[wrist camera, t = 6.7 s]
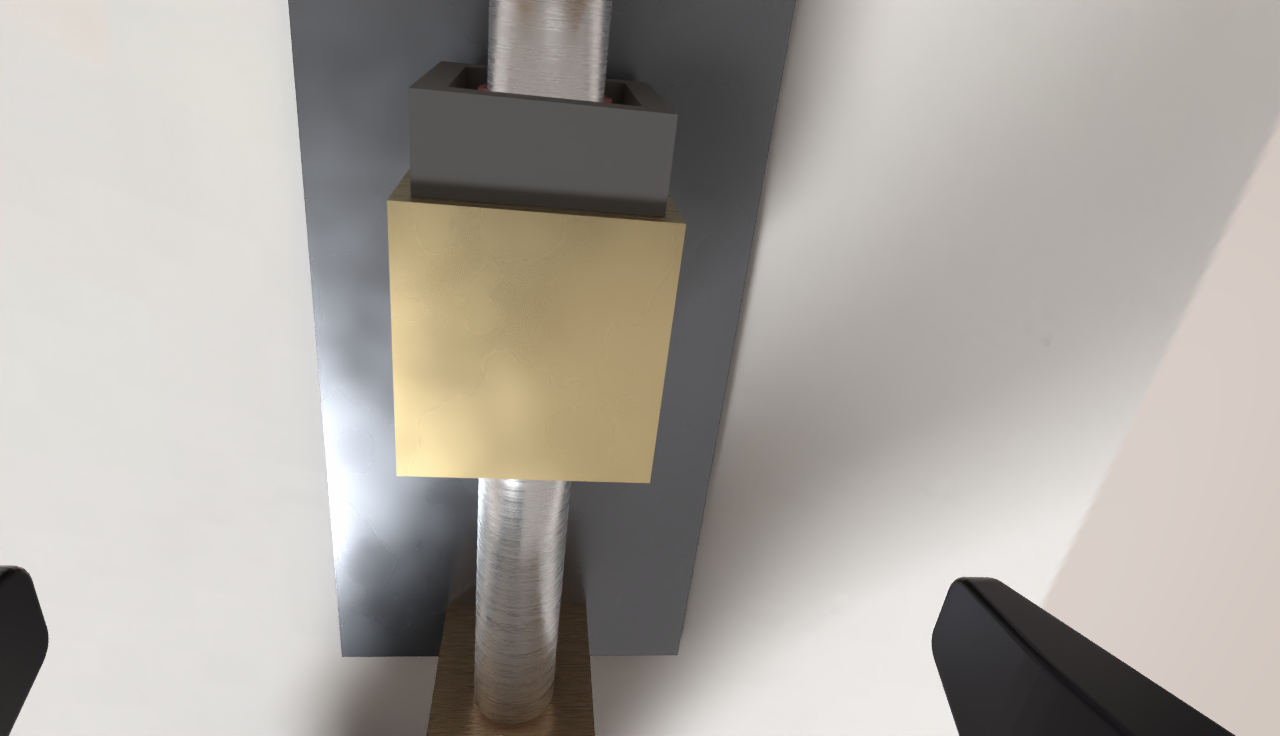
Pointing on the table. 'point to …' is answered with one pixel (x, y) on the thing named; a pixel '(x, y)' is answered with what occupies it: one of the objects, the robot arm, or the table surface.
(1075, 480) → the table surface
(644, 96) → the dark grey square collar
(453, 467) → the sleeve
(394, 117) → the pipe rig
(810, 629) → the table surface
